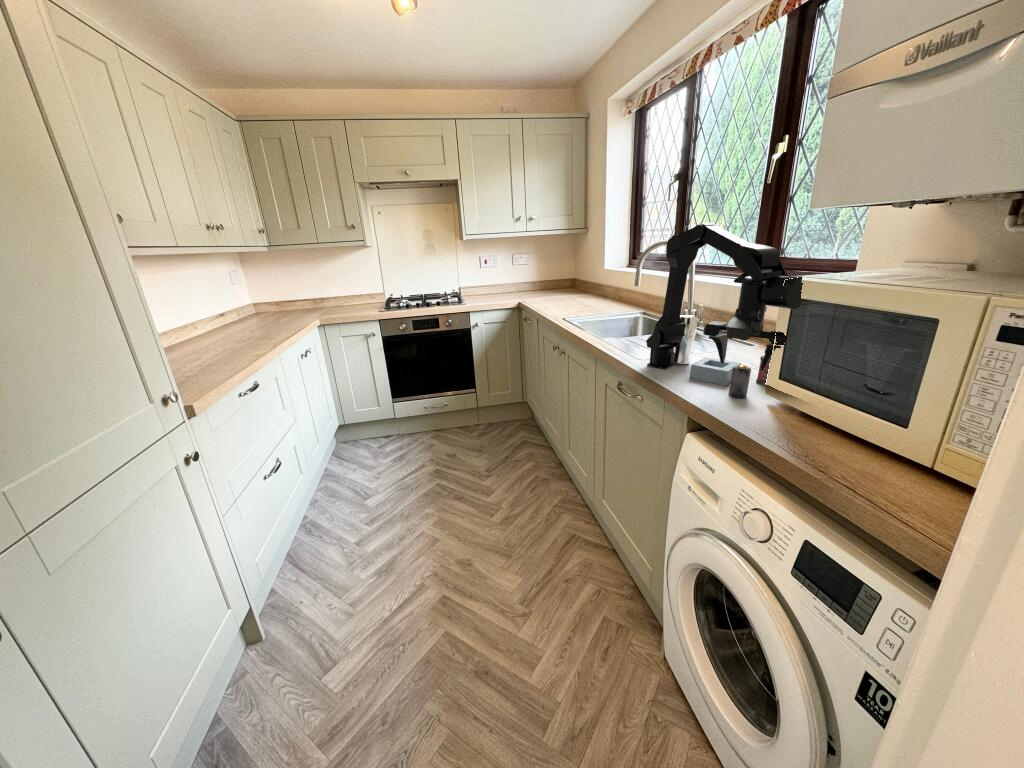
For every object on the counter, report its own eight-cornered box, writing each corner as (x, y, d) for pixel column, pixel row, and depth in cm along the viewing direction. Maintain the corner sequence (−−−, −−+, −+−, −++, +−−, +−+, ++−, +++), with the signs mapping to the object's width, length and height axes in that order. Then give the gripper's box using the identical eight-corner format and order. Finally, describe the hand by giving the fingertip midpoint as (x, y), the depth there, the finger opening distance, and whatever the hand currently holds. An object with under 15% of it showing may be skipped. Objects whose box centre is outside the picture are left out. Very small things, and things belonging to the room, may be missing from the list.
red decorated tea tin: (790, 384, 107) (798, 349, 104) (790, 388, 104) (798, 352, 101) (756, 380, 111) (762, 345, 108) (755, 383, 109) (761, 348, 105)
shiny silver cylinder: (687, 360, 132) (694, 315, 128) (693, 365, 125) (701, 317, 121) (666, 359, 133) (672, 314, 129) (671, 363, 126) (678, 316, 122)
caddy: (689, 377, 115) (691, 364, 114) (703, 369, 122) (705, 357, 120) (725, 385, 108) (727, 371, 107) (738, 376, 115) (741, 363, 113)
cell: (726, 396, 101) (730, 366, 98) (731, 392, 104) (736, 362, 101) (743, 400, 98) (748, 369, 96) (748, 395, 101) (753, 365, 98)
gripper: (697, 304, 94) (690, 366, 100) (789, 312, 82) (774, 382, 87) (716, 299, 102) (708, 357, 107) (802, 305, 89) (788, 370, 94)
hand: (741, 366), depth 98 cm, fingers open, 9 cm apart
